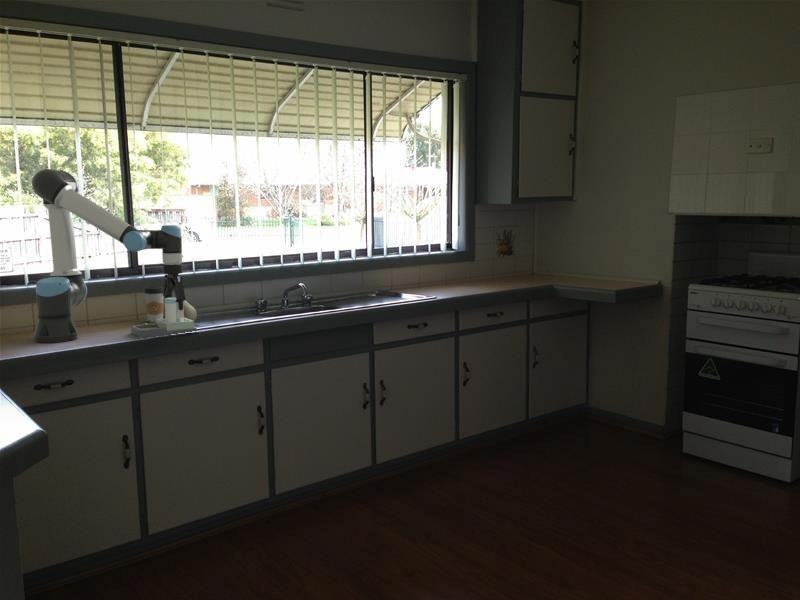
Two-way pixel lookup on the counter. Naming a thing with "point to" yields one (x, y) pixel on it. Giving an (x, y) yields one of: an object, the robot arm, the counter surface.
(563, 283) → the counter surface
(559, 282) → the counter surface
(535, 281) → the counter surface
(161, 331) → the grey tray
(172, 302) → the can
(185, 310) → the fruit
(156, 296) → the coffee cup
